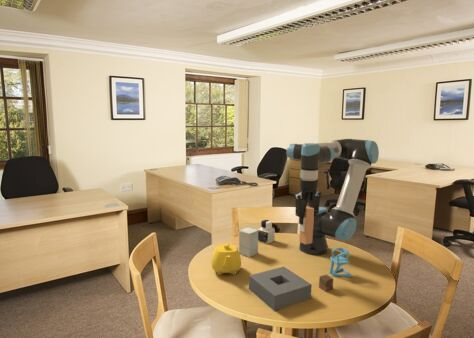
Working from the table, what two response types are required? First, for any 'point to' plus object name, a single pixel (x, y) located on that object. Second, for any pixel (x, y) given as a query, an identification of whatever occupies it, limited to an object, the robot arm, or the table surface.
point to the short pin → (326, 283)
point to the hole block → (279, 287)
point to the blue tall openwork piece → (339, 262)
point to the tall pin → (308, 226)
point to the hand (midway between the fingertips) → (306, 230)
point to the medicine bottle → (266, 232)
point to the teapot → (226, 259)
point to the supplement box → (248, 242)
